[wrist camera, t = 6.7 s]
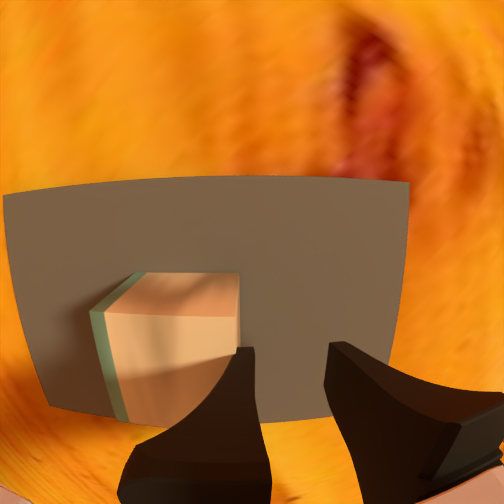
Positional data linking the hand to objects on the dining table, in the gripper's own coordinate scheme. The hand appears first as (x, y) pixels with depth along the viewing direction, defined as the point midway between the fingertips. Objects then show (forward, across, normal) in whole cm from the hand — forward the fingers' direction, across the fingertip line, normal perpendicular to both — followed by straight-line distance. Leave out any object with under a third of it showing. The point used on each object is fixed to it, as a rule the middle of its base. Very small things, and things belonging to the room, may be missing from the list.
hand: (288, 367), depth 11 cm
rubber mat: (+5, +4, 0) cm, 6 cm away
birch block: (+2, +2, 0) cm, 2 cm away
